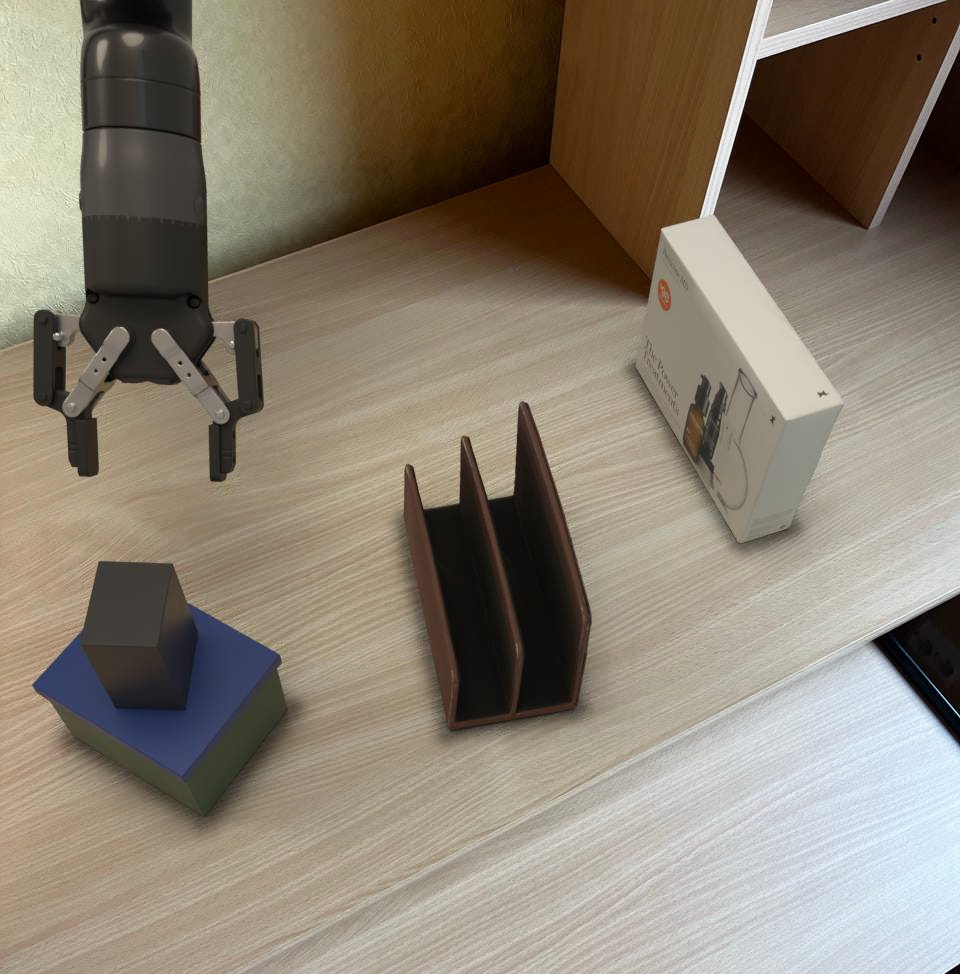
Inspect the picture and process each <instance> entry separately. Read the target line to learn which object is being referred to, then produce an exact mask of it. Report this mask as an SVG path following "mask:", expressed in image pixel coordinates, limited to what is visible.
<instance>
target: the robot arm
mask: <svg viewBox="0 0 960 974" xmlns="http://www.w3.org/2000/svg"><path fill="white" fill-rule="evenodd" d="M79 7H80V16H81V27H82V35H83V37H82V38H83V39H82V43H81V47H80V48H81V49H80V60H79V84H80V85H79V88H80V89H79V91H80V110H81V113H80V114H81V115H80V116H81V132H82V135H81V136H82V137H81V138H82V139H81V140H82V143H81V155H80V165H79V186H80V187H79V189H80V190H79V192H78V205H79V206H78V207H79V210H80V215H81V233H82V235H81V236H82V255H83V277H84V280H83V281H84V294H85V295H84V296H85V303H84V307H83V310H82V311H81V314H80V315H79V314H73V313H72V314H71V313H63V312H61V311H59V310H55V309H38V310H37V311H35V312H34V314H33V330H32V331H33V333H32V335H33V336H32V337H33V341H32V342H33V349H32V351H33V354H32V355H33V357H32V358H33V363H32V365H33V366H32V367H33V371H32V376H33V377H32V380H33V381H32V382H33V385H32V387H33V388H32V390H33V391H32V392H33V393H32V394H33V400H34V402H35V403H36V404H37V405H38V406H41V407H47V408H49V409H52V410H54V411H57V412H59V413H61V414H62V415H63V417H64V419H65V421H66V422H65V423H66V440H67V441H66V442H67V458H68V459H67V460H68V462H69V464H70V466H71V468H76V469H77V475H78V476H79V477H82V478H92V477H95V476H98V475H99V472H100V460H99V436H98V435H99V433H98V418H97V417H93V412H94V410H95V408H96V407H97V406H98V404H99V403H100V402H101V400H102V399H103V397H104V396H105V395H106V394H107V393H108V392H109V391H110V390H111V389H112V388H113V387H114V385H115V384H116V382H118V381H120V382H121V384H143V383H147V382H148V383H152V384H154V385H160V386H175V385H179V384H181V383H183V385H184V386H185V387H186V389H187V390H188V392H189V393H190V394H191V395H192V396H194V398H196V400H197V401H198V402H199V404H200V405H201V407H203V409H204V410H205V412H206V413H207V414H208V416H209V418H210V419H211V420H212V423H211V424H208V465H209V467H208V468H209V469H208V470H209V471H208V472H209V481H210V482H211V483H223V482H225V481H227V478H228V474H231V473H233V472H234V470H235V467H236V465H237V425H238V422H239V421H240V420H241V419H243V418H245V417H249V416H252V415H255V414H258V413H260V412H262V411H263V410H264V407H265V394H264V393H265V392H264V381H263V379H264V378H263V364H262V363H263V362H262V349H261V332H260V326H259V324H258V322H257V321H255V320H254V319H251V318H250V319H249V318H238V319H237V320H235V321H233V320H232V321H231V320H230V321H229V320H228V321H215V319H214V318H213V315H212V314H211V313H212V312H211V309H210V303H209V302H210V301H209V296H210V295H209V244H208V241H209V240H208V236H209V235H208V191H207V189H208V188H207V187H208V186H207V177H206V169H205V163H204V158H203V157H204V156H203V145H202V99H201V97H202V90H201V75H200V68H199V63H198V57H197V54H196V53H195V50H194V48H193V0H79ZM79 332H80V334H81V335H82V337H83V338H84V340H85V342H87V343H88V345H89V346H90V347H91V350H92V351H93V352H94V353H95V354H94V356H93V357H92V358H91V360H90V361H89V363H88V364H87V366H86V367H85V368H84V369H83V371H82V373H81V374H80V375H79V377H78V381H77V383H76V385H75V386H74V387H73V389H71V391H69V390H66V389H67V388H66V387H67V382H66V381H67V374H66V373H67V348H68V347H71V346H72V345H73V344H74V342H75V340H76V335H77V334H78V333H79ZM217 338H218V339H220V341H222V343H223V347H224V349H225V351H226V352H227V353H228V354H229V355H232V356H234V357H235V371H236V383H237V384H236V386H237V398H236V399H233V400H231V399H230V398H229V397H228V395H227V394H226V393H225V391H224V390H223V388H222V387H221V385H220V383H219V380H218V379H217V378H216V376H215V375H214V373H213V372H212V371H211V370H210V368H209V367H208V365H207V364H206V363H205V362H204V359H203V358H204V357H205V355H206V354H207V353H208V351H209V349H210V348H211V347H212V345H213V344H214V343H215V341H216V339H217Z"/></svg>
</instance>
